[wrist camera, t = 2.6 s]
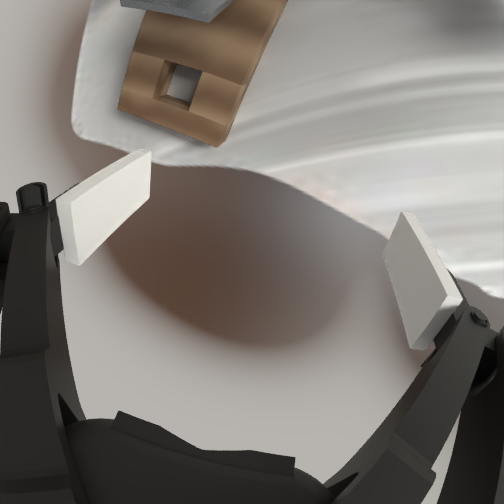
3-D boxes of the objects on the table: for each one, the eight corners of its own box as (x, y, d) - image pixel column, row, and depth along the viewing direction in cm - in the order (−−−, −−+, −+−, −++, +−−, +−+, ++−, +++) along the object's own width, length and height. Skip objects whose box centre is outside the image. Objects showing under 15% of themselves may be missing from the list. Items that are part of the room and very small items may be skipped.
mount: (183, -39, 25) (171, -47, 22) (294, -13, 26) (291, -22, 23) (132, 104, 39) (117, 109, 36) (225, 140, 40) (216, 147, 37)
